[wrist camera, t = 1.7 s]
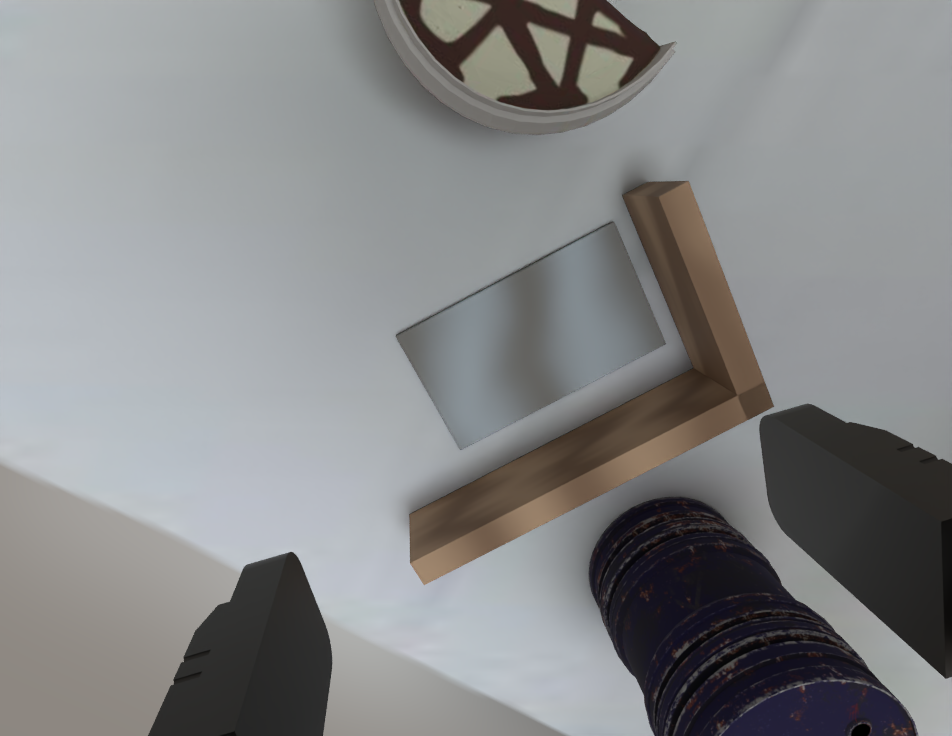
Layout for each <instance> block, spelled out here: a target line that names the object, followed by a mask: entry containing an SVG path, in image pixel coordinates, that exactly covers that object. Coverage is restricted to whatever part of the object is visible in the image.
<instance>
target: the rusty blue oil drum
mask: <svg viewBox="0 0 952 736" xmlns="http://www.w3.org/2000/svg"><path fill="white" fill-rule="evenodd" d="M589 581H590V587H591V591H592V594H593V596H594V598H595V600H596V603H597V605H598V607H599V608H600V612H601V616H602V620H603V623H604V625H605V627H606V629H607V631H608V634H609V636H610V638H611V640H612V642H613V645H614V648H615V650H616V652H617V654H618V657H619V658H620V659H621V661H622V662H623V664H624V665H625V666H626V668H627V669H628V670H629V672H630V673H631V674H632V675H633V676H634V677H636V679H637V681H638V683H639V686H640V688H641V690H642V692H643V694H644V703H645V707H646V711H647V716H648V720H649V724H650V727H651V729H652V731H653V733H654V735H655V736H918V732H917V729H916V726H915V722H914V721H913V719H912V717H911V715H910V714H909V712H908V710H907V709H906V708H905V707H904V706H903V705H902V704H901V702H900V701H899V700H898V699H897V698H896V697H895V696H894V695H893V694H892V693H891V692H890V691H889V690H888V689H887V688H886V687H885V686H884V685H883V684H881V682H880V681H879V680H878V679H877V678H876V677H875V675H874V674H873V673H872V672H871V671H870V670H869V669H868V667H867V665H866V663H865V662H864V660H863V659H862V658H861V657H860V656H859V655H858V654H857V653H856V652H855V651H854V650H853V649H852V648H851V646H850V645H849V644H848V643H847V642H846V641H845V640H844V639H843V638H842V637H841V636H840V635H838V634H837V633H836V632H835V630H834V629H833V628H832V626H831V625H830V624H829V623H828V622H827V621H826V620H825V619H824V618H823V617H821V616H820V615H819V614H817V613H816V612H815V611H813V610H812V609H810V608H809V607H808V606H806V605H805V604H803V603H801V602H799V601H797V600H795V599H794V598H793V597H792V596H791V594H790V593H789V592H788V591H787V590H786V589H785V588H784V587H783V586H782V584H781V581H780V579H779V577H778V575H777V573H776V572H775V570H774V569H773V567H772V566H771V564H770V562H769V561H768V560H767V559H766V557H765V556H764V555H763V554H762V553H761V552H759V551H758V550H757V549H755V547H754V546H753V545H752V544H751V543H750V542H749V541H748V540H747V539H746V538H745V537H744V536H743V535H742V534H741V533H740V532H738V531H737V530H736V529H734V528H733V527H732V526H730V525H729V524H728V522H727V521H726V520H725V519H724V518H723V517H722V516H721V515H720V514H719V513H718V512H717V511H715V510H714V509H713V508H711V507H710V506H708V505H706V504H704V503H702V502H699V501H696V500H693V499H689V498H682V497H665V498H659V499H654V500H651V501H647V502H644V503H642V504H640V505H637V506H635V507H633V508H631V509H630V510H628V511H627V512H625V513H623V514H622V515H621V516H619V517H618V518H617V519H616V520H615V521H614V522H612V523H611V525H610V526H609V527H608V528H607V529H606V530H605V531H604V533H603V534H602V536H601V537H600V539H599V540H598V542H597V544H596V546H595V549H594V551H593V554H592V557H591V561H590V567H589Z"/></svg>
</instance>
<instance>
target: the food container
mask: <svg viewBox="0 0 952 736" xmlns="http://www.w3.org/2000/svg"><path fill="white" fill-rule="evenodd" d="M374 3H375V7H376V10H377V12H378V15H379V17H380V20H381V22H382V24H383V27H384V29H385V31H386V34H387V36H388V38H389V40H390V41H391V43H392V45H393V46H394V48H395V50H396V51H397V53H398V55H399V56H400V58H401V60H402V61H403V63H404V64H405V65H406V67H407V68H408V69H409V70H410V71H411V73H412V74H413V75H414V76H415V77H416V79H417V80H418V81H419V82H420V83H421V85H423V86H424V87H425V88H426V89H427V90H428V91H429V92H430V93H431V94H433V95H434V96H435V97H436V98H437V99H438V100H439V101H440V102H442V103H443V104H445V105H446V106H448V107H449V108H451V109H452V110H454V111H456V112H457V113H459V114H460V115H462V116H463V117H465V118H468V119H470V120H472V121H475V122H477V123H479V124H482V125H484V126H486V127H489V128H493V129H497V130H501V131H506V132H510V133H518V134H532V135H541V134H551V133H561V132H565V131H569V130H572V129H576V128H580V127H583V126H587V125H589V124H591V123H593V122H595V121H597V120H600V119H602V118H604V117H606V116H608V115H610V114H611V113H613V112H614V111H616V110H617V109H619V108H620V107H622V106H623V105H625V104H626V103H628V102H629V101H631V100H632V99H633V98H634V97H635V96H636V95H637V94H638V93H640V92H641V91H642V90H643V89H644V88H645V87H646V86H647V85H648V84H649V83H650V82H651V81H652V80H653V79H654V77H655V76H656V75H657V74H658V73H659V71H660V70H661V69H662V68H663V66H664V65H665V64H666V63H667V62H668V60H669V59H670V58H671V56H672V55H673V54H674V53H675V51H674V50H673V48H674V46H675V45H676V44H677V42H672V43H669V44H666V45H662V46H659V45H658V44H657V43H655V42H654V41H653V40H652V39H651V38H650V37H649V36H648V34H647V33H646V32H644V31H642V30H641V29H639V28H638V27H636V26H635V25H634V24H633V23H631V22H630V21H629V20H628V19H627V18H625V17H624V16H623V15H622V14H621V13H620V12H619V11H618V10H617V9H615V8H614V7H613V6H612V5H611V4H610V3H609V2H608V1H607V0H374Z"/></svg>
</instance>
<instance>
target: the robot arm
mask: <svg viewBox="0 0 952 736" xmlns="http://www.w3.org/2000/svg"><path fill="white" fill-rule="evenodd" d="M759 431H760V440H761V448H762V456H763V464H764V472H765V480H766V488H767V496H768V501H769V505H770V508H771V511H772V513H773V515H774V518H775V520H776V521H777V523H778V525H779V526H780V528H781V529H782V530H783V532H784V533H785V534H786V535H787V536H788V537H789V538H791V539H792V540H793V541H794V542H795V543H796V544H797V545H798V546H799V547H801V548H802V549H803V550H804V551H805V552H806V553H807V554H808V555H809V556H810V557H812V558H813V559H814V560H815V561H816V562H817V563H818V564H819V565H820V566H822V567H823V568H824V569H825V570H826V571H827V572H828V573H829V574H830V575H832V576H833V577H834V578H835V579H836V580H837V581H838V582H839V583H840V584H841V585H843V586H844V587H845V588H846V589H847V590H848V591H849V592H850V593H851V594H853V595H854V596H855V597H856V598H857V599H858V600H859V601H860V602H861V603H863V604H864V605H865V606H866V607H867V608H868V609H869V610H870V611H871V612H872V613H874V614H875V615H876V616H877V617H878V618H879V619H880V620H881V621H882V622H884V623H885V624H886V625H887V626H888V627H889V628H890V629H891V630H892V631H894V632H895V633H896V634H897V635H898V636H899V637H900V638H901V639H902V640H903V641H905V642H906V643H907V644H908V645H909V646H910V647H911V648H912V649H913V650H915V651H916V652H917V653H918V654H919V655H920V656H921V657H922V658H923V659H925V660H926V661H927V662H928V663H929V664H930V665H931V666H932V667H933V668H934V669H936V670H937V671H938V672H939V673H940V674H941V675H942V676H943V677H944V678H949V677H952V464H951V463H949V462H947V461H945V460H943V459H941V460H938V459H937V458H936V456H935V455H933V454H931V453H929V452H927V451H925V450H923V449H921V448H919V447H917V448H914V446H913V444H911V443H909V442H907V441H906V440H904V439H902V438H900V437H898V436H896V435H894V434H892V433H890V432H888V431H886V430H882V429H878V428H873V427H869V426H865V425H861V424H856V423H852V422H849V423H846V422H844V421H842V420H840V419H838V418H837V417H835V416H833V415H831V414H829V413H827V412H825V411H823V410H822V409H820V408H818V407H816V406H814V405H812V404H804V405H801V406H797V407H794V408H790V409H787V410H783V411H780V412H776V413H773V414H770V415H766V416H764V417H763V418H762V419H761V421H760V427H759ZM331 671H332V651H331V644H330V639H329V635H328V631H327V629H326V625H325V623H324V620H323V618H322V615H321V613H320V610H319V608H318V605H317V603H316V600H315V598H314V595H313V593H312V590H311V588H310V585H309V583H308V580H307V578H306V575H305V572H304V570H303V567H302V565H301V563H300V561H299V559H298V557H297V556H296V555H295V554H294V553H293V552H289V553H285V554H282V555H279V556H275V557H272V558H268V559H265V560H261V561H258V562H254V563H251V564H248V565H246V566H245V567H244V569H243V571H242V573H241V576H240V578H239V581H238V583H237V586H236V588H235V591H234V593H233V596H232V598H231V600H230V602H227V603H224V604H220V605H218V606H217V607H216V608H215V610H214V611H213V612H212V613H211V614H210V615H209V616H208V617H207V619H206V620H205V621H204V622H203V623H202V624H201V626H200V627H199V628H198V629H197V630H196V631H195V633H194V635H193V638H192V640H191V642H190V644H189V646H188V649H187V651H186V653H185V655H184V662H182V663H181V664H180V667H179V669H178V671H177V673H176V675H175V677H174V685H171V686H170V688H169V691H168V693H167V695H166V697H165V699H164V702H163V704H162V706H161V708H160V711H159V713H158V715H157V717H156V719H155V722H154V724H153V726H152V728H151V730H150V733H149V735H148V736H323V730H324V723H325V716H326V709H327V701H328V693H329V687H330V679H331Z"/></svg>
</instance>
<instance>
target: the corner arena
mask: <svg viewBox="0 0 952 736" xmlns="http://www.w3.org/2000/svg"><path fill="white" fill-rule="evenodd" d="M622 196H623V199H624V201H625V204H626V206H627V209H628V211H629V213H630V216H631V218H632V221H633V223H634V225H635V228H636V230H637V233H638V235H639V237H640V240H641V242H642V245H643V247H644V249H645V252H646V254H647V257H648V259H649V262H650V264H651V266H652V269H653V271H654V274H655V276H656V278H657V281H658V283H659V286H660V288H661V290H662V293H663V295H664V298H665V300H666V303H667V305H668V307H669V310H670V312H671V315H672V317H673V319H674V322H675V324H676V327H677V329H678V331H679V334H680V336H681V339H682V341H683V343H684V346H685V348H686V351H687V353H688V356H689V358H690V360H691V363H692V365H693V369H691V370H689V371H687V372H685V373H683V374H681V375H679V376H677V377H675V378H674V379H672V380H670V381H668V382H666V383H664V384H662V385H660V386H658V387H656V388H654V389H652V390H650V391H648V392H646V393H644V394H642V395H641V396H639V397H637V398H635V399H633V400H631V401H629V402H627V403H625V404H623V405H621V406H619V407H617V408H615V409H613V410H611V411H609V412H607V413H606V414H604V415H602V416H600V417H598V418H596V419H594V420H592V421H590V422H588V423H586V424H584V425H582V426H580V427H578V428H576V429H574V430H573V431H571V432H569V433H567V434H565V435H563V436H561V437H559V438H557V439H555V440H553V441H551V442H549V443H547V444H545V445H543V446H541V447H540V448H538V449H536V450H534V451H532V452H530V453H528V454H526V455H524V456H522V457H520V458H518V459H516V460H514V461H512V462H510V463H508V464H506V465H505V466H503V467H501V468H499V469H497V470H495V471H493V472H491V473H489V474H487V475H485V476H483V477H481V478H479V479H477V480H475V481H473V482H472V483H470V484H468V485H466V486H464V487H462V488H460V489H458V490H456V491H454V492H452V493H450V494H448V495H446V496H444V497H442V498H440V499H439V500H437V501H435V502H433V503H431V504H429V505H427V506H425V507H423V508H421V509H419V510H417V511H415V512H413V513H411V514H409V515H410V564H411V565H412V567H413V568H414V570H415V572H416V573H417V575H418V576H419V578H420V579H421V581H422V583H423V584H424V585H425V584H427V583H429V582H431V581H433V580H435V579H437V578H439V577H441V576H443V575H445V574H447V573H449V572H451V571H453V570H455V569H457V568H459V567H461V566H463V565H465V564H467V563H468V562H470V561H472V560H474V559H476V558H478V557H480V556H482V555H484V554H486V553H488V552H490V551H492V550H494V549H496V548H498V547H500V546H502V545H504V544H506V543H508V542H510V541H512V540H514V539H516V538H517V537H519V536H521V535H523V534H525V533H527V532H529V531H531V530H533V529H535V528H537V527H539V526H541V525H543V524H545V523H547V522H549V521H551V520H553V519H555V518H557V517H559V516H561V515H563V514H565V513H566V512H568V511H570V510H572V509H574V508H576V507H578V506H580V505H582V504H584V503H586V502H588V501H590V500H592V499H594V498H596V497H598V496H600V495H602V494H604V493H606V492H608V491H610V490H612V489H614V488H615V487H617V486H619V485H621V484H623V483H625V482H627V481H629V480H631V479H633V478H635V477H637V476H639V475H641V474H643V473H645V472H647V471H649V470H651V469H653V468H655V467H657V466H659V465H661V464H663V463H664V462H666V461H668V460H670V459H672V458H674V457H676V456H678V455H680V454H682V453H684V452H686V451H688V450H690V449H692V448H694V447H696V446H698V445H700V444H702V443H704V442H706V441H708V440H710V439H712V438H713V437H715V436H717V435H719V434H721V433H723V432H725V431H727V430H729V429H731V428H733V427H735V426H737V425H739V424H741V423H743V422H745V421H747V420H749V419H751V418H753V417H755V416H757V415H759V414H761V413H762V412H764V411H766V410H768V409H770V408H772V407H774V405H773V403H772V400H771V397H770V395H769V392H768V389H767V387H766V384H765V382H764V379H763V376H762V374H761V371H760V368H759V366H758V363H757V360H756V358H755V355H754V352H753V350H752V347H751V345H750V342H749V339H748V337H747V334H746V331H745V329H744V326H743V323H742V321H741V318H740V316H739V313H738V310H737V308H736V305H735V302H734V300H733V297H732V294H731V292H730V289H729V286H728V284H727V281H726V279H725V276H724V273H723V271H722V268H721V265H720V263H719V260H718V257H717V255H716V252H715V250H714V247H713V244H712V242H711V239H710V236H709V234H708V231H707V228H706V226H705V223H704V220H703V218H702V215H701V213H700V210H699V207H698V205H697V202H696V199H695V197H694V194H693V191H692V189H691V186H690V184H689V181H666V182H646V183H645V184H643V185H641V186H639V187H637V188H635V189H633V190H631V191H629V192H627V193H626V194H624V195H622ZM396 338H397V340H398V341H399V343H400V345H401V347H402V348H403V350H404V352H405V354H406V355H407V357H408V359H409V361H410V362H411V364H412V366H413V368H414V369H415V371H416V373H417V375H418V376H419V378H420V380H421V382H422V383H423V385H424V387H425V389H426V391H427V392H428V394H429V396H430V398H431V399H432V401H433V403H434V405H435V406H436V408H437V410H438V412H439V413H440V415H441V417H442V419H443V420H444V422H445V424H446V426H447V427H448V429H449V431H450V433H451V434H452V436H453V438H454V440H455V441H456V443H457V445H458V447H459V449H460V450H462V449H464V448H466V447H468V446H470V445H472V444H473V443H475V442H477V441H479V440H481V439H483V438H485V437H487V436H489V435H491V434H493V433H495V432H497V431H499V430H501V429H502V428H504V427H506V426H508V425H510V424H512V423H514V422H516V421H518V420H520V419H522V418H524V417H526V416H528V415H530V414H531V413H533V412H535V411H537V410H539V409H541V408H543V407H545V406H547V405H549V404H551V403H553V402H555V401H557V400H559V399H560V398H562V397H564V396H566V395H568V394H570V393H572V392H574V391H576V390H578V389H580V388H582V387H584V386H586V385H588V384H590V383H591V382H593V381H595V380H597V379H599V378H601V377H603V376H605V375H607V374H609V373H611V372H613V371H615V370H617V369H619V368H620V367H622V366H624V365H626V364H628V363H630V362H632V361H634V360H636V359H638V358H640V357H642V356H644V355H646V354H648V353H649V352H651V351H653V350H655V349H657V348H659V347H661V346H663V345H665V344H666V343H665V340H664V338H663V336H662V333H661V331H660V329H659V326H658V324H657V322H656V319H655V317H654V315H653V312H652V310H651V308H650V305H649V303H648V300H647V298H646V296H645V293H644V291H643V289H642V286H641V284H640V282H639V279H638V277H637V275H636V272H635V270H634V267H633V265H632V263H631V260H630V258H629V256H628V253H627V251H626V249H625V246H624V244H623V242H622V239H621V237H620V234H619V232H618V230H617V227H616V225H615V223H614V222H611V223H609V224H607V225H605V226H603V227H601V228H599V229H598V230H596V231H594V232H592V233H590V234H588V235H586V236H584V237H582V238H580V239H579V240H577V241H575V242H573V243H571V244H569V245H567V246H565V247H563V248H561V249H559V250H558V251H556V252H554V253H552V254H550V255H548V256H546V257H544V258H542V259H540V260H539V261H537V262H535V263H533V264H531V265H529V266H527V267H525V268H523V269H521V270H520V271H518V272H516V273H514V274H512V275H510V276H508V277H506V278H504V279H502V280H501V281H499V282H497V283H495V284H493V285H491V286H489V287H487V288H485V289H483V290H482V291H480V292H478V293H476V294H474V295H472V296H470V297H468V298H466V299H464V300H463V301H461V302H459V303H457V304H455V305H453V306H451V307H449V308H447V309H445V310H444V311H442V312H440V313H438V314H436V315H434V316H432V317H430V318H428V319H426V320H424V321H423V322H421V323H419V324H417V325H415V326H413V327H411V328H409V329H407V330H405V331H404V332H402V333H400V334H398V335H396Z"/></svg>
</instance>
